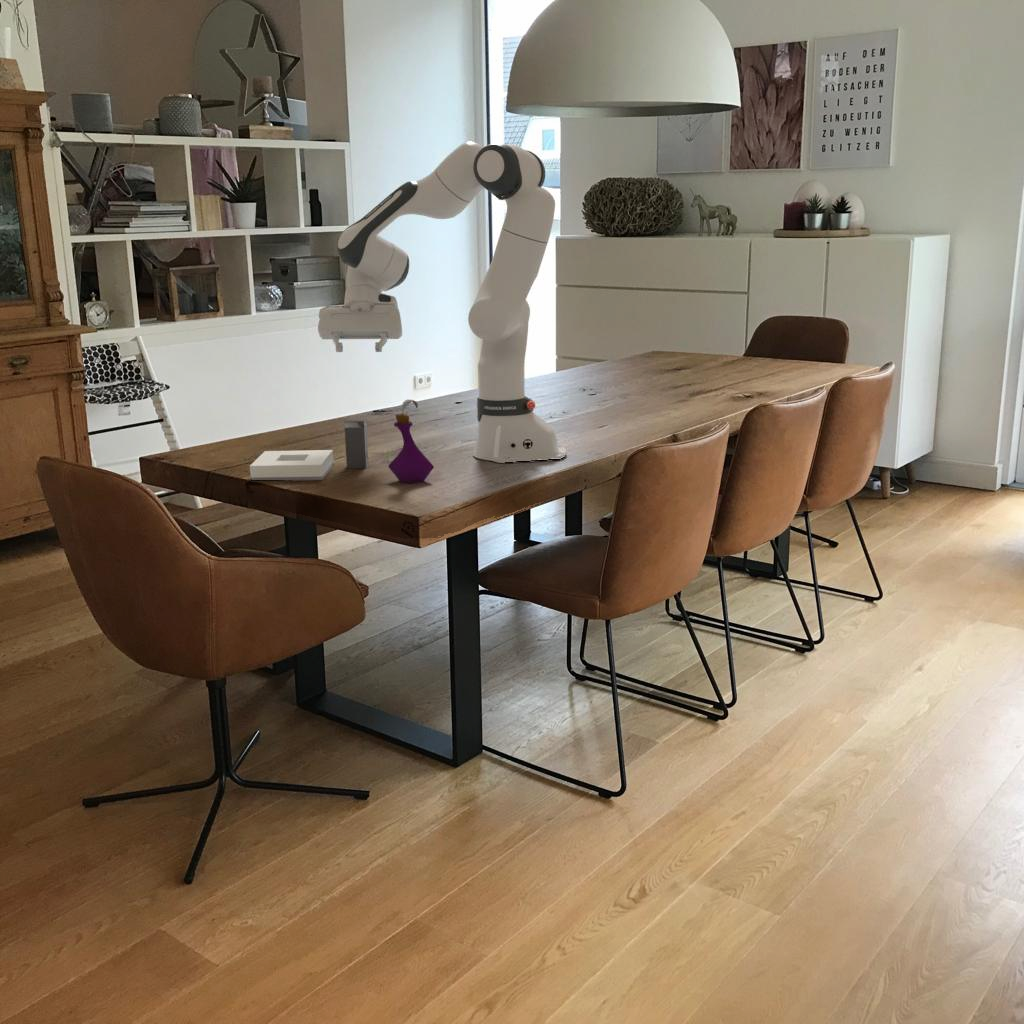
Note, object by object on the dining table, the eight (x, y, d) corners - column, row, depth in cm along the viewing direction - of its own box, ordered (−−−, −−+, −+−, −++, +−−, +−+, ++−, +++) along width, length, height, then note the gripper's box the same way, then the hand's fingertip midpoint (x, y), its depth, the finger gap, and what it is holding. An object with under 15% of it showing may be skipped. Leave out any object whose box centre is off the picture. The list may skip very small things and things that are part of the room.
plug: (368, 463, 270) (366, 417, 267) (366, 467, 266) (363, 421, 263) (349, 464, 270) (347, 418, 267) (346, 468, 266) (344, 421, 263)
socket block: (333, 464, 270) (332, 449, 269) (322, 480, 254) (321, 464, 253) (265, 465, 270) (264, 451, 269) (250, 481, 254) (249, 465, 253)
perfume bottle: (405, 486, 247) (402, 404, 242) (388, 480, 253) (384, 399, 248) (434, 481, 251) (432, 400, 247) (417, 475, 257) (414, 396, 253)
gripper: (317, 297, 277) (313, 342, 270) (402, 297, 277) (399, 342, 270) (321, 314, 283) (317, 358, 276) (404, 313, 283) (401, 358, 276)
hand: (358, 350), depth 273 cm, fingers open, 8 cm apart
